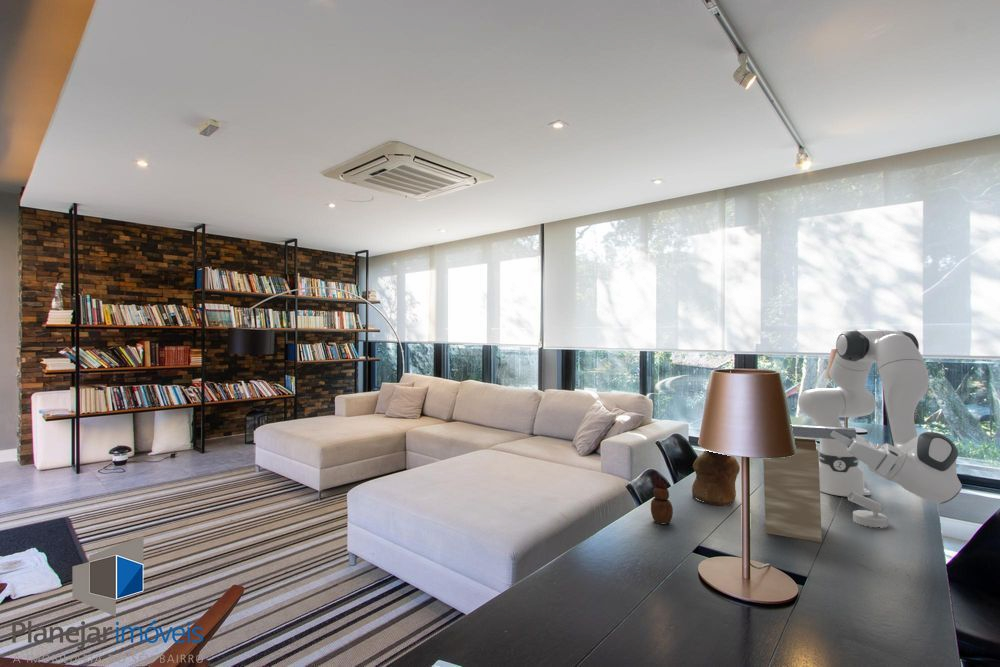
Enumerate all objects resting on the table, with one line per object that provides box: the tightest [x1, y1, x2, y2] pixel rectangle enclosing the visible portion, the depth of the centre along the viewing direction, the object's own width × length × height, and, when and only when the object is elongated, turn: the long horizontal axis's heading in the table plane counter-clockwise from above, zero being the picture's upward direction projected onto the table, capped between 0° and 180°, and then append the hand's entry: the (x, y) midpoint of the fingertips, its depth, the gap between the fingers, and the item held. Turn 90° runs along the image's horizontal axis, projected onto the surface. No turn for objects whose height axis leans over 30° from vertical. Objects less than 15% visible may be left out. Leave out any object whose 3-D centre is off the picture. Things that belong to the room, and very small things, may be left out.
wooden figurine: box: [650, 474, 674, 524], centre depth 153 cm, size 7×6×15 cm
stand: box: [762, 436, 823, 543], centre depth 146 cm, size 14×14×28 cm
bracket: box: [791, 424, 857, 439], centre depth 140 cm, size 3×20×8 cm, turn 58°
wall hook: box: [847, 492, 889, 529], centre depth 149 cm, size 9×10×10 cm
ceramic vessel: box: [691, 450, 741, 506], centre depth 171 cm, size 16×22×30 cm
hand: (830, 431), depth 138 cm, fingers closed on bracket, 3 cm apart
